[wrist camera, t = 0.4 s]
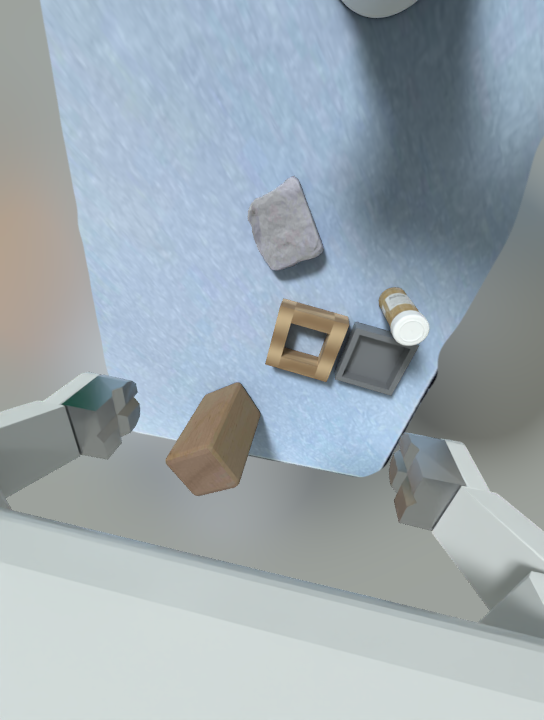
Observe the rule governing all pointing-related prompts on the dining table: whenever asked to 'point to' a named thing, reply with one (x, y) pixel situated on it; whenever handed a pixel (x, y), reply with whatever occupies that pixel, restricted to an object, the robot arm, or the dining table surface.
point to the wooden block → (216, 441)
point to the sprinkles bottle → (403, 317)
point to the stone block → (284, 226)
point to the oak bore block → (314, 320)
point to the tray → (373, 359)
